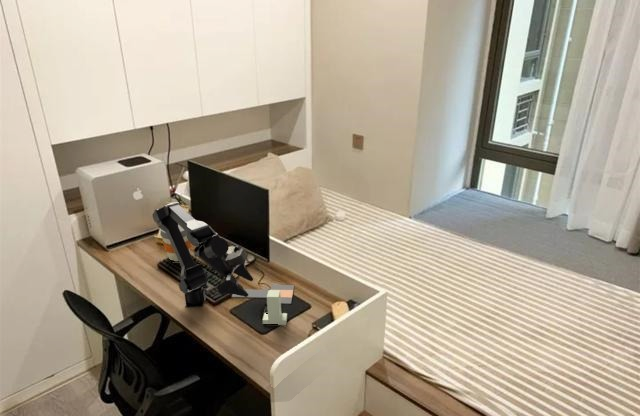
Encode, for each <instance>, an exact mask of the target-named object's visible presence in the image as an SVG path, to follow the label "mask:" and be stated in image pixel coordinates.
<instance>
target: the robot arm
mask: <svg viewBox="0 0 640 416" xmlns="http://www.w3.org/2000/svg"><path fill="white" fill-rule="evenodd" d="M152 220H153V221H154V223H156V225H157V227H158V228H159V229H160V230H161V229H162V230H163V231H165V232H166V234H167V236H168V238H169V240H170V243H171V245H172V247H173V249H174V252H175V254H176V256H177V258H178V261H179V262H178V263H179V265H180V267H181V271H180V279H181V281H179V284H178V288H179V290H180V291H181V292H182V294H184V298H185V299H184V300H185V304H184V308H197V307H200V308H201V307H203V306H204V303H205V302H206V290H205V288H204V287H207V284H208V275H207V273H206V272H205V270H204V269H203V266H202V265H201V264H197V263H196V262H195V261H194V259H193V257H192V255H191V251H190V252H189V250H188V247H187V245H186V243H185V241H184V238H183V236H182V234H181V232H180V230H179V227H178V224H179V225H180V226H181V227H182V228H183V229H184V230H185V231H186V232H187V239H188V241H189V242H190V243H191V246H195V248H194V249H193V253H194V257H197V258H199V259H200V260H201V261H202V262H204V263H205V264H206V265H207V266H209V267H210V269H209V270H210V272H214V271H215V272H216V273H217V274H219V279H220V281H219V282H218V284H217V287H216V292H217V293H218V294H220V296H223V295H226V294H230V295H232V294H235V295H240V296H245V297H247V296H248V295H249V294H248V293H247V292H246V291H245V290H244V287H242V286H241V284H239V281H238V280H239V279H238V278H235V276H233V273H235V274H237V275H238V277H241V278H243V279H245V280H247V281H250V282H253V281H254V277H253V276H252V275H251V273H250V271H249V270H248V268H247V266H246V259H247V258H248V255H247V254H246V249H245V248H243V247H242V246H241V245H236V246H234V248H233V251H232V252H231V253H228V251H229V249H230V248H229V243H228V241H226V239H225V238H222V237H220V236H219V233H217V232H216V231H215V230H214V229H213V228H212V227H211V226H210V224H207V223H206V222H204V221H202V220H197V219H195V218H194V217H193V216H192V215H191V214H190V213H189V212H188V211H187V210H185V209H184V207H182V204H180V202H178V201H174V202H170V203H168V204H165V205H163V206H162V207H160V208H157V209H154V212H153V213H152ZM224 277H225V278H224Z"/></svg>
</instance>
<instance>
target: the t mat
mask: <svg viewBox="0 0 640 416" xmlns="http://www.w3.org/2000/svg"><path fill="white" fill-rule="evenodd" d="M294 288H295V285H294V284H292V285H291V284H288V285H287V284H271V285H270V289H250V288H249V289H247V288H245V289H244V288H243V289H244V290H245V291H246V292H247V293H248V294H249V295H248V296H247V297H245V296H240V295H235V294H231V298H234V299H235V298H236V299H237V298H240V299H241V298H242V299H244V298H245V299H267V294H268V290H280V297H281V305H291V304H292V299H293V295H294Z"/></svg>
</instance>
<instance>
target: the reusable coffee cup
mask: <svg viewBox="0 0 640 416" xmlns="http://www.w3.org/2000/svg"><path fill="white" fill-rule="evenodd" d="M178 227H179V230H180V232H181V234H182V236H183V238H184V241H185V243H186V245H187V247H188V250H189V252H190V253H191V248H192V244H191V243H190V242H189V241H188V239H187V232H186V231H185V230H184V229H183V228H182V227H181V226H180V225H179V224H178ZM160 237H161V238H162V244H163V247H164V249H165V252H166V253H167V256H168V259H170V260H174V261H178V258H177V256H176V254H175V252H174V249H173V247H172V245H171V243H170V240H169V238H168V236H167V234H166V232H165V231H163V230H162V229H160ZM170 260H169V261H170Z"/></svg>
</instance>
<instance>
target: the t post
mask: <svg viewBox="0 0 640 416" xmlns="http://www.w3.org/2000/svg"><path fill="white" fill-rule="evenodd" d="M267 290H268V294H267V298H266V305H267V306H266V307H267V312H263V317H262V325H263V324H278V325H277V326H286V325H287V321H288V313H286V312H283V313H282V304H281V297H280V290H270V289H267ZM266 313H268V314H266Z"/></svg>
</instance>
